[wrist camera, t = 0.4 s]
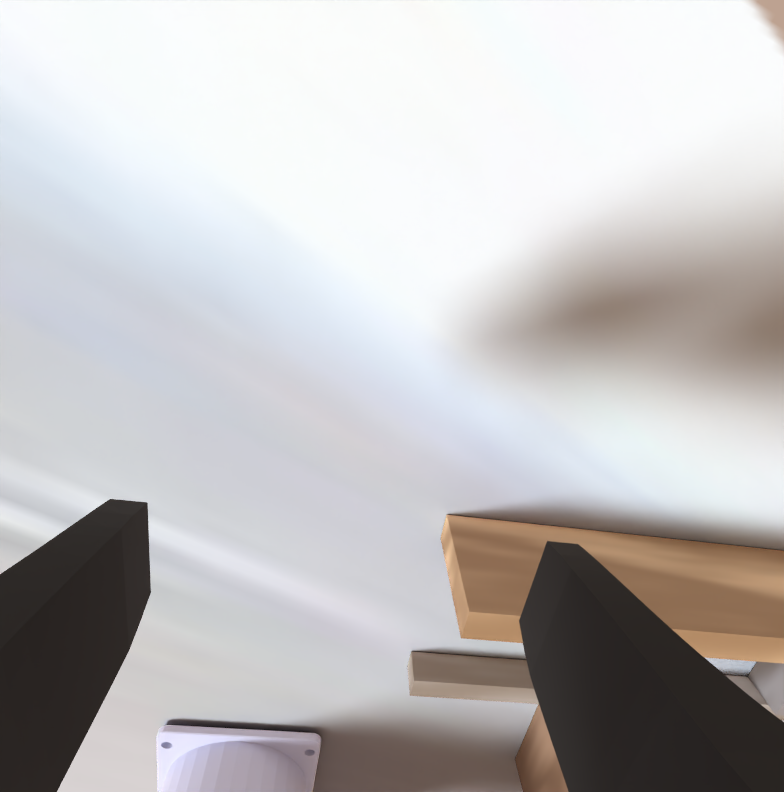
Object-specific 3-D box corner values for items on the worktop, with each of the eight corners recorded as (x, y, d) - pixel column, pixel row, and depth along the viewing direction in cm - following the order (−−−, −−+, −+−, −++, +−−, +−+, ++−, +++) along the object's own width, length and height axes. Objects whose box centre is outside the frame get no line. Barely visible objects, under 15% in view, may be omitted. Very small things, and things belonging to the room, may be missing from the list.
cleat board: (765, 691, 27) (845, 798, 23) (407, 666, 25) (417, 779, 20) (855, 558, 24) (973, 654, 19) (446, 514, 21) (469, 611, 17)
